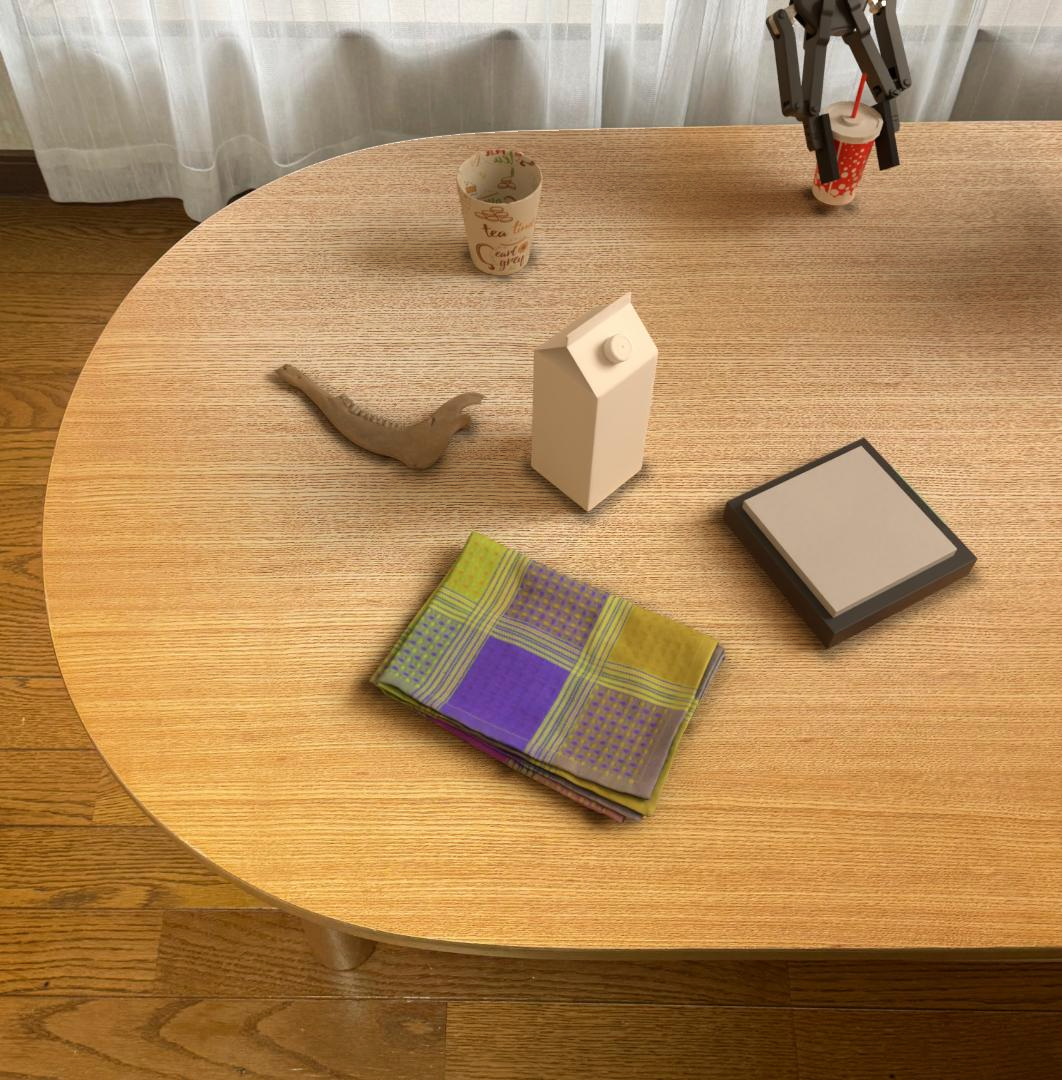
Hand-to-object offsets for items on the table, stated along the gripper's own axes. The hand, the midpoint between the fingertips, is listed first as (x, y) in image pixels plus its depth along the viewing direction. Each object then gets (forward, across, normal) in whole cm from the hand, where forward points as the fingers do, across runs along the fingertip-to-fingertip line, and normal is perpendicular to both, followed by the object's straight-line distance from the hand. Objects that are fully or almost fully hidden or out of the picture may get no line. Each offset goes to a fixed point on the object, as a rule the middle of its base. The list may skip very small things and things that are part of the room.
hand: (860, 174), depth 120 cm
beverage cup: (+1, 0, -6) cm, 6 cm away
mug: (-2, +36, -10) cm, 37 cm away
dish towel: (+34, +48, +25) cm, 64 cm away
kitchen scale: (+31, +21, +22) cm, 43 cm away
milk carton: (+20, +38, +12) cm, 45 cm away
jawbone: (+10, +54, +2) cm, 55 cm away
